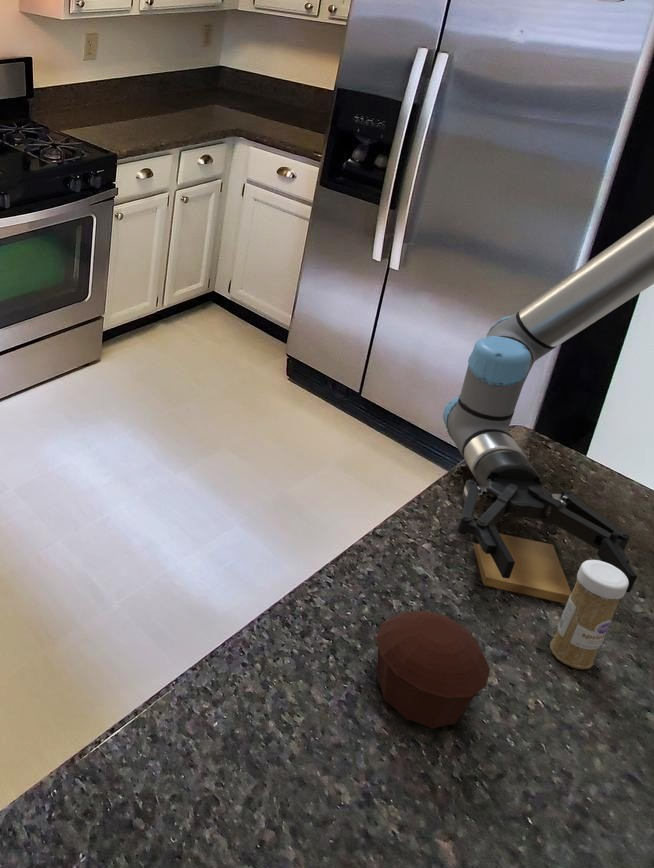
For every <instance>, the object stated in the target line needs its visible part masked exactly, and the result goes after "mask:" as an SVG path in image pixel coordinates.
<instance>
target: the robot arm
mask: <svg viewBox="0 0 654 868" xmlns="http://www.w3.org/2000/svg"><path fill="white" fill-rule="evenodd" d="M653 285H654V215H653V214H652V215H651V216H650V217H649V218H648V219H646V220H645V221H643V222H642V223H640V224H639V225H637V226H636V227H635V228H633V229H632V230H631V231H629V232H628V233H626V234H625V235H624V236H622V237H620V238H619V239H618V240H617V241H615V242H613V244H611V245H610V246H608V247H606V248H605V249H603V251H601V252H599V253H598V254H597V255H595V256H594V257H593V258H591V259H590V260H589V261H587V262H586V263H584V264H582V265H581V266H580V267H578V268H577V269H576V270H574V271H573V272H571V273H570V274H568V275H567V276H566V277H565V278H563V279H562V280H560V281H559V282H557V283H556V284H555V285H553V286H552V287H550V288H549V289H547V290H546V291H545V292H543V293H542V294H540V295H539V296H538V297H536V298H535V299H534V300H532V301H531V302H529V303H527V304H526V305H525V306H524V307H522V308H521V309H519V311H516V312H515V313H514V314H513V315H507V316H505V317H502V318H500V319H499V320H498V321H496V323H494V324H493V325H492V326H491V327H490V328H489V330H488V332H487V334H486V336H485V337H481V338H479V339H478V340H476V342H475V343H474V345H473V349H472V351H471V353H470V356H469V357H468V360H467V363H468V364H467V368H466V372H465V376H464V379H463V382H462V388H461V391H460V394H459V395H458V396H456V397H454V398H452V399H451V400H450V402H449V403H447V405H445V407H444V408H443V412H442V420H443V423H444V425H445V428H446V429H447V433H448V436H449V437H450V439H451V440H452V441H453V443H454V444H455V446H456V448H457V450H458V451H459V453H460V455H461V456H462V458H463V459H464V461H465V462H466V465H467V467H468V469H469V470H470V472H471V474H472V475H473V477H474V479H475V480H473V479H466V482H465V485H464V488H463V490H462V498H463V501H464V505H463V507H462V511H461V514H460V517H459V520H458V524H457V526H456V532H457V533H458V534H460V535H467V534H470V535H471V534H472V538H471V537H470V541H472V542H474V543H476V544H480V546H481V548H482V550H483V551H484V552H485V553H486V554H491V556H492V558H493V560H494V562H495V564H496V566H497V568H498V570H499V571H500V573H501V575H502V577H503V578H510V575H511V572H512V569H513V567H514V564H515V561H514V559H513V558H512V556H511V554H510V552H509V550H508V549H507V547H506V545H505V543H504V542H503V540H502V538H501V536H500V534H501V533H499V531H498V529H497V527H496V525H497V524H498V523H499V522H500V520H501V521H502V520H503V519H504V518H505V517H506V516H507V515H508V514H509V515H512V516H513V517H514V518H528V519H533V520H539V521H541V522H543V523H545V524H546V525H548V526H553V525H554V526H555V527H558V528H560V529H561V530H563V531H565V532H567V533H569V534H570V535H572V536H574V537H576V538H577V539H578V540H581V541H582V542H584V543H586V544H588V545H590V546H591V547H593V548H595V549H596V550H597V552H596V555H597V557H598V558H599V560H600V561H603V562H606V563H609V564H611V565H613V566H615V567H616V568H618V569H619V570H621V571H622V572H623V573H624V574H625V575H626V577H627V578H628V581H629V585H628V588H627V590H626V593H628V594H629V593H631V591H632V589H633V587H634V585H635V582H636V580H637V578H638V575H637V574H636V572H635V571H634V570H633V568H632V567H631V566H630V564H629V563H630V557H629V556H628V555H627V554H626V552H625V550H626V548H627V545H628V542H630V538H631V535H630V534H629V533H628V532H626V531H624V529H622V528H620V527H619V526H617V525H616V524H615V523H613V522H612V521H610V520H609V519H607V518H606V517H604V516H603V515H602V514H600V513H598V512H597V511H596V510H594V509H592V508H591V507H590V506H588V505H587V504H585V503H584V502H583V501H581V500H580V499H579V497H577V496H576V495H575V494H574V492H572V491H571V490H569V489H562V490H561V493H551V492H550V491H549V490H548V489H546V488H545V487H544V486H543V484H542V483H543V482H542V480H541V477H540V475H539V473H538V472H537V470H536V469H535V467H534V466H533V465H532V463H531V462H530V460H529V459H528V457H527V456H526V454H525V452H524V451H523V450H522V448H521V446H520V445H519V444H518V443H517V441H516V440H515V438H514V436H513V435H512V434H511V433H510V425H511V423H512V420H513V416H514V413H515V409H516V407H517V404H518V401H519V399H520V395H521V392H522V389H523V386H524V384H525V383H526V380H527V378H528V376H529V374H530V371H531V370H532V367H533V365H534V363H535V362H537V360H539V359H541V358H543V357H544V356H545V355H547V354H549V353H550V352H551V351H553V350H554V349H556V348H557V347H558V346H561V344H563V343H565V342H566V341H568V340H569V339H571V338H572V337H574V336H575V335H577V334H578V333H580V332H582V331H584V330H585V329H586V328H589V326H591V325H592V324H594V323H596V322H597V321H598V320H600V319H602V318H603V317H605V316H606V315H608V314H609V313H611V312H613V311H614V310H615V309H617V308H619V307H620V306H622V305H623V304H625V303H626V302H628V301H630V300H631V299H633V298H634V297H636V296H637V295H639V294H640V293H642V292H644V291H645V290H647V289H648V288H650V287H651V286H653ZM483 497H484V498H485V500H487V501H488V502H490V503H491V505H490V506H489V507H488V508H487V509H486V510H485V512H483V513H482V514H481V515H480V517H479V518H478V519H477V520H473V519H472V518H473V514H474V510H475V507H476V503H478V501H480V500H481V499H482V498H483ZM549 508H551V509H550V511H549V514H547V511H548V510H549ZM472 542H471V543H472Z"/></svg>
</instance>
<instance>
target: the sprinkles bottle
mask: <svg viewBox="0 0 654 868" xmlns="http://www.w3.org/2000/svg"><path fill="white" fill-rule="evenodd" d="M628 585H629V581H628V578H627V577H626V575H625V574H624V573H623V572H622V571H621V570H619V569H618V568H616V567H615V566H613V565H611V564H609V563H606V562H603V561H601V560H600V559H587V560H584V561H583V562H582V563H581V564H580V567H579V569H578V571H577V573H576V582H575V583H574V587H573V588H572V590H571V594H570V597H569V599H568V602H567V604H565V607H564V609H563V612H562V613H561V616H560V619H559V621H558V624H557V628H556V631H555V634H554V636H553V639H551V641H550V643H549V649H550V652H551V654H553V655H554V657H555V658H556V659H557V660H559V661H560V662H561V663H562V664H565V665H566V666H568V667H570V668H574V669H578V670H587V669H588V670H589V669H591V668H592V667H593V666H594V663H595V658H596V656H597V653H598V651H599V649H600V647H601V646H602V644H603V642H604V639H605V637H606V634H607V632H608V630H609V629H610V628H609V627H610V626H611V623H612V619H613V617H614V615H615V614H616V613H615V612H616V610H617V608H618V605H619V603H620V601H621V599H622V598H624V596H625V595H626V593H627V592H626V590H627V588H628Z"/></svg>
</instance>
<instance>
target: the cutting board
mask: <svg viewBox="0 0 654 868" xmlns="http://www.w3.org/2000/svg"><path fill="white" fill-rule="evenodd" d="M499 534H500V536H501V538H502V540H503V542H504V543H505V545H506V547H507V549H508V550H509V552H510V554H511V556H512V558H513V559H514V561H515V564H514V567H513V569H512V572H511V575H510V578H503V577H502V575H501V573H500V571H499V570H498V568H497V566H496V564H495V562H494V560H493V558H492V556H491V554H486V553H485V552H484V551H483V550H482V548H481V546H480V544H476V543H474V542H471V543H472V546H473V550H474V554H475V559H476V562H477V566H478V571H479V574H480V578H481V582H482V586H485V587H490V588H494V589H497V590H503V591H507V592H512V593H516V594H520V595H525V596H530V597H534V598H539V599H542V600H547V601H552V602H556V603H561V604H564V605H566V604H567V602H568V599H569V597H570V594H571V593H572V590H571V588H570V586H569V583H568V580H567V577H566V575H565V572H564V570H563V567H562V565H561V562H560V559H559V557H558V554H557V551H556V549H555V546H554V544H552V543H547V542H542V541H537V540H533V539H529V538H523V537H519V536H518V537H517V536H513V535H509V534H503V533H499ZM471 538H472V534H470V539H471Z"/></svg>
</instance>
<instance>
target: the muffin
mask: <svg viewBox="0 0 654 868" xmlns="http://www.w3.org/2000/svg"><path fill="white" fill-rule="evenodd" d="M375 640H376V643H377V661H376V662H377V663H376V664H377V666H376V681H377V683H378V685H379V687H380V689H381V692H382V693H381V694H382V697H383V701H385V702H386V703H387V704H388V705H390V706H391V707H392V708H393V709H395V710H396V711H397V712H398V713H399V715H401V716H402V717H403V718H404V719H405V720H408V721H411V722H415V723H418V724H420V725H422V726H425V727H427V728H430V729H436V728H439V727H443V726H451V725H453V726H454V725H456V723H457V722H458V720H459V719H460V718H461V716H462V715H463V713H464V712H465V711H466V709H467V708H468V706H469V705H470V703H472V700H473V699H474V698H475V696H476V694H477V693H478V692H480V691H482V690H484V689H485V688H486V687H487V686H488V681H489V675H490V671H491V668H490V666H489V664H488V661H487V658H486V657H485V654H484V652H483V649H482V648H481V646H480V643H479V642H478V640H477V639H476V638H475V636H474V635H472V633H471V632H470V631H468V629H466V628H465V626H464V625H463V624H461V623H459V622H458V621H456V620H455V619H452V618H450V617H449V616H448V615H446V614H443V613H437V612H435V611H429V610H414V611H413V610H411V611H406V612H402V613H399V614H394V615H393V616H392V617H390V618H388V619H386V620H384V621H383V622H381V624H380V626H379V629H378V632H377V635H376V637H375Z"/></svg>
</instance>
